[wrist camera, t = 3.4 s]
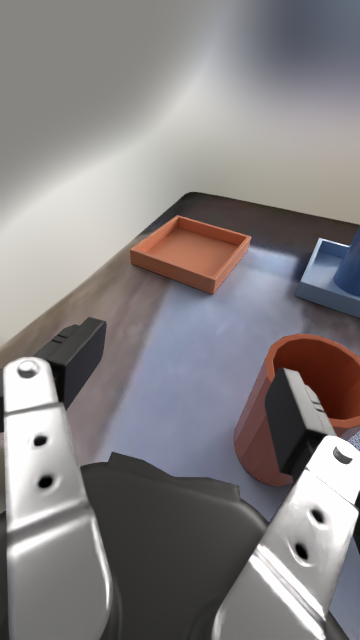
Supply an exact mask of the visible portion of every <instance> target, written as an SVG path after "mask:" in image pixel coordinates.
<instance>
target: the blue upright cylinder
mask: <svg viewBox="0 0 360 640" xmlns="http://www.w3.org/2000/svg"><path fill="white" fill-rule="evenodd" d="M333 280H334V282H335V284H336V285H337V286H338V287H339V288H340V289H342V290H344V291H345V292H347V293H350V294H352V295H356V296H360V227H359V229H358V231H357V232H356V234H355V236H354V238H353V240H352V242H351V244H350V246H349V247H348V249H347V251H346V253H345V255H344V257H343V259H342V261H341V263H340V264H339V266H338V268H337V270H336V272H335V274H334V276H333Z"/></svg>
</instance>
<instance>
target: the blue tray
mask: <svg viewBox="0 0 360 640" xmlns="http://www.w3.org/2000/svg"><path fill="white" fill-rule="evenodd" d="M348 247H349V246H347V245H344V244H340V243H336V242H332V241H329V240H325V239H321V238H319V240H318V242H317V245H316V247H315V249H314V251H313V254H312V256H311V258H310V261H309V263H308V265H307V267H306V270H305V272H304V274H303V277H302V279H301V281H300V283H299V286H298V288H297V290H296V293H295V295H294V296H297V297H300V298H303V299H306V300H309V301H311V302H314V303H317V304H320V305H323V306H326V307H329V308H332V309H335V310H338V311H341V312H343V313H346V314H349V315H352V316H355V317H358V318H360V296H356V295H352V294H350V293H347V292H345V291H344V290H342V289H340V288H339V287H338V286H337V285H336V284H335V282H334V280H333V276H334V274H335V272H336V270H337V268H338V266H339V264H340V263H341V261H342V259H343V257H344V255H345V253H346V251H347V249H348Z"/></svg>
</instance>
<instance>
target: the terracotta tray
mask: <svg viewBox="0 0 360 640" xmlns="http://www.w3.org/2000/svg"><path fill="white" fill-rule="evenodd" d="M250 240H251V236H247V235H244V234H241V233H237V232H234V231H230V230H227V229H223V228H220V227H216V226H213V225H209V224H206V223H202V222H199V221H195V220H192V219H188V218H185V217H182V216H178V215H177V216H176V217H174V218H173V219H171V220H170V221H169V222H167V223H166V224H164V225H163V226H162V227H160V228H159V229H157V230H156V231H155V232H153V233H152V234H150V235H149V236H148V237H146V238H145V239H143V240H142V241H141V242H139V243H138V244H136V245H135V246H134V247H132V248H131V249H130V257H131V263H132V264H134V265H137V266H139V267H142V268H145V269H147V270H150V271H153V272H155V273H158V274H160V275H163V276H166V277H168V278H171V279H174V280H176V281H179V282H181V283H184V284H187V285H189V286H192V287H195V288H197V289H200V290H202V291H205V292H208V293H210V294H214V293H215V292H216V290H217V289H218V288H219V286H220V285H221V284H222V283H223V281H224V280H225V279H226V277H227V276H228V275H229V274H230V272H231V271H232V270H233V268H234V267H235V266H236V265H237V263H238V262H239V261H240V260H241V258H242V257H243V256H244V254H245V253H246V252H247V251H248V248H249V244H250Z"/></svg>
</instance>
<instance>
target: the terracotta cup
mask: <svg viewBox="0 0 360 640" xmlns="http://www.w3.org/2000/svg"><path fill="white" fill-rule="evenodd" d="M280 367H282V368H286V369H290V370H294V371H297V372H299V374H300V376H301V378H302V380H303V382H304V385H308V386H309V387H310V389H311V390H312V391H313V392H314V393H315V394H316V395H317V397H318V399H319V401H320V403H321V404H320V405H322V407H323V409H324V413H326V415H327V417H328V419H329V421H330V423H331V425H332V427H333V429H334V431H335V433H336V435H337V437H338V438H340V439H342V440H344V441H348V440H349V439H350V438H351V437H353V436H354V435H355V434H356V433H357V432H359V431H360V358H359V356H357V355H356V354H354V353H353V352H351V351H350V350H349V349H347V348H346V347H344V346H343V345H341V344H339V343H337V342H334V341H332V340H329V339H327V338H324V337H321V336H317V335H309V334H295V335H290V336H285V337H283V338H281V339H280V340H278V341H277V342H275V343H274V344H273V345H271V347H270V349H269V351H268V354H267V356H266V358H265V360H264V363H263V365H262V368H261V370H260V372H259V375H258V377H257V379H256V382H255V384H254V386H253V389H252V391H251V393H250V396H249V398H248V400H247V403H246V405H245V407H244V410H243V412H242V414H241V417H240V419H239V421H238V424H237V426H236V428H235V433H234V447H235V451H236V454H237V456H238V459H239V461H240V462H241V464H242V465H243V467H244V468H245V469H246V470H247V471H248V472H249V474H251V475H252V476H253V477H254V478H256V479H257V480H259V481H261V482H263V483H265V484H268V485H271V486H277V487H282V486H288V485H291V484H294V482H293V479H292V476H290V475H286V474H282V473H280V472H279V467H278V463H277V459H276V454H275V450H274V446H273V441H272V437H271V433H270V428H269V424H268V419H267V415H266V411H265V405H264V403H265V396H266V393H267V391H268V389H269V387H270V385H271V383H272V381H273V379H274V377H275V375H276V372H277V371H278V369H279V368H280Z"/></svg>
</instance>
